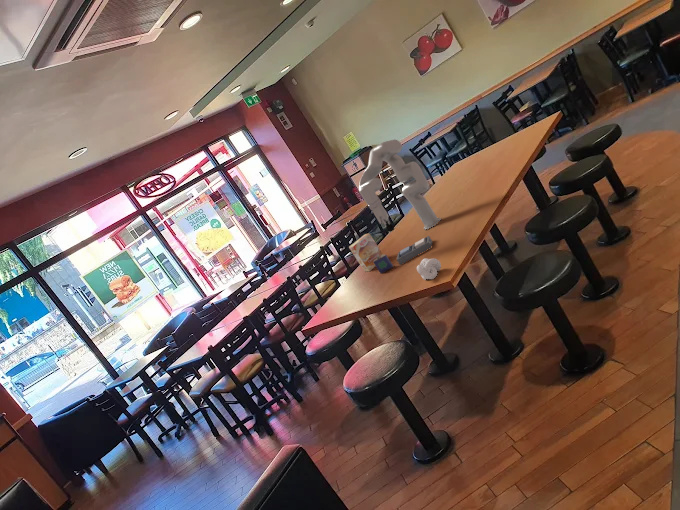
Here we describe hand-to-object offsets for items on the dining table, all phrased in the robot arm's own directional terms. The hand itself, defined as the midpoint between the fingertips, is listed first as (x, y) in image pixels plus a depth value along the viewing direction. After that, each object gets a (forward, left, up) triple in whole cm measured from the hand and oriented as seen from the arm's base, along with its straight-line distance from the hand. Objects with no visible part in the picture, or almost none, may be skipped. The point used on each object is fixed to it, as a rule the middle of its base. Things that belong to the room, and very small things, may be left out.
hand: (392, 230), depth 299 cm
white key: (0, +10, -17) cm, 20 cm away
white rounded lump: (+50, +17, -19) cm, 56 cm away
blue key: (0, 0, -17) cm, 17 cm away
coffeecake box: (-22, -27, -19) cm, 40 cm away
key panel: (0, +5, -19) cm, 20 cm away
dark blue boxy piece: (+2, -15, -19) cm, 25 cm away
